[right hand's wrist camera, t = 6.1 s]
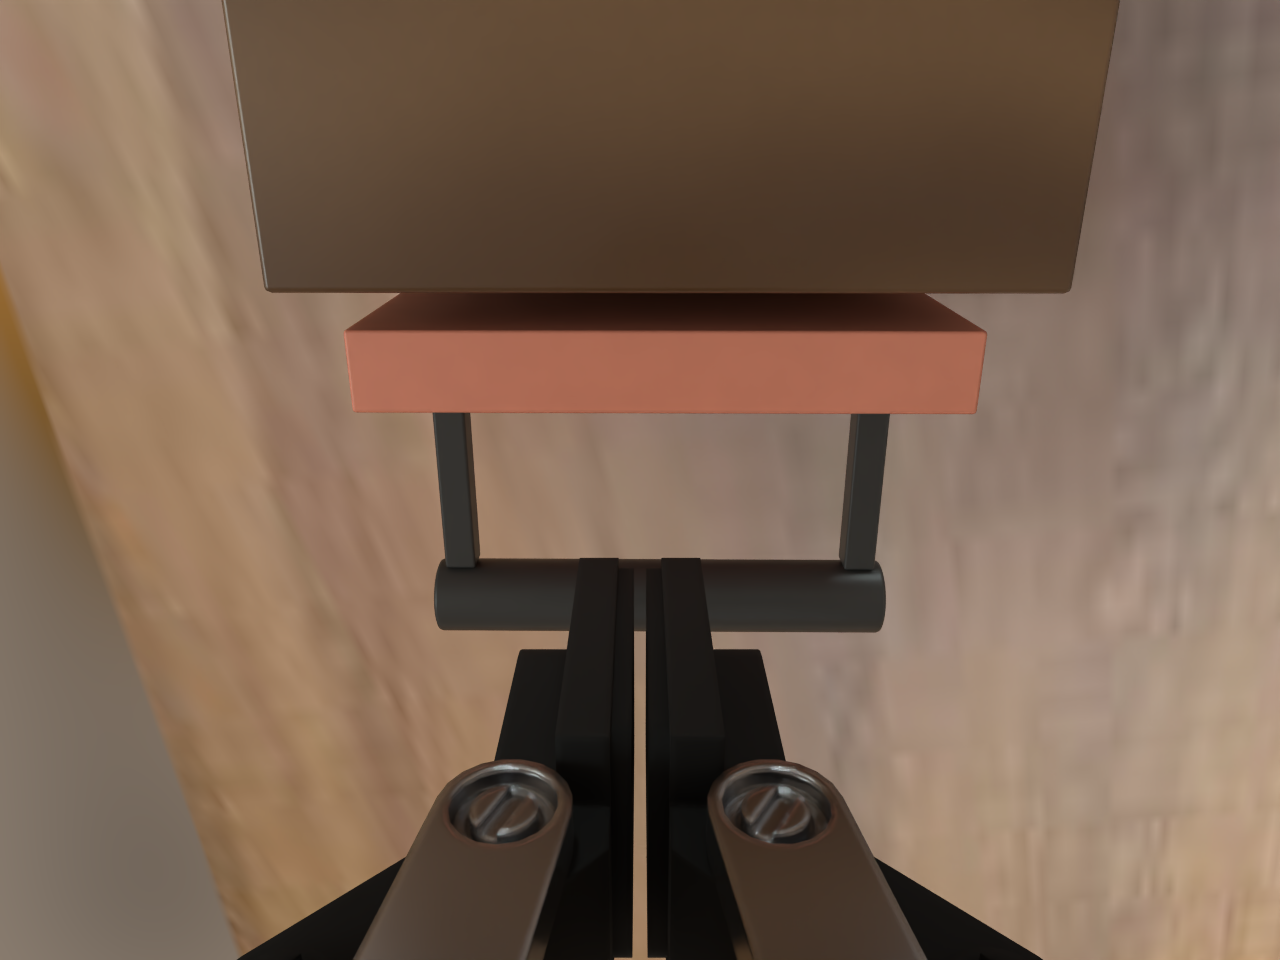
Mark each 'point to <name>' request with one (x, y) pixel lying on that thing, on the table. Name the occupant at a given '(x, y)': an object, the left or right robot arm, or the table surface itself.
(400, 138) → the cabinet
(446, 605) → the drawer
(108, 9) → the table surface
